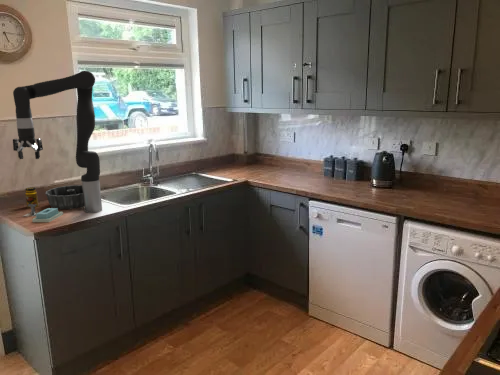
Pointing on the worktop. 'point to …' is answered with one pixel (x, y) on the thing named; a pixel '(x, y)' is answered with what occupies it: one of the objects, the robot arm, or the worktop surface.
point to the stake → (32, 210)
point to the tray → (48, 219)
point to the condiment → (31, 196)
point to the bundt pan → (66, 197)
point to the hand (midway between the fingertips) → (29, 158)
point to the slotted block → (47, 213)
